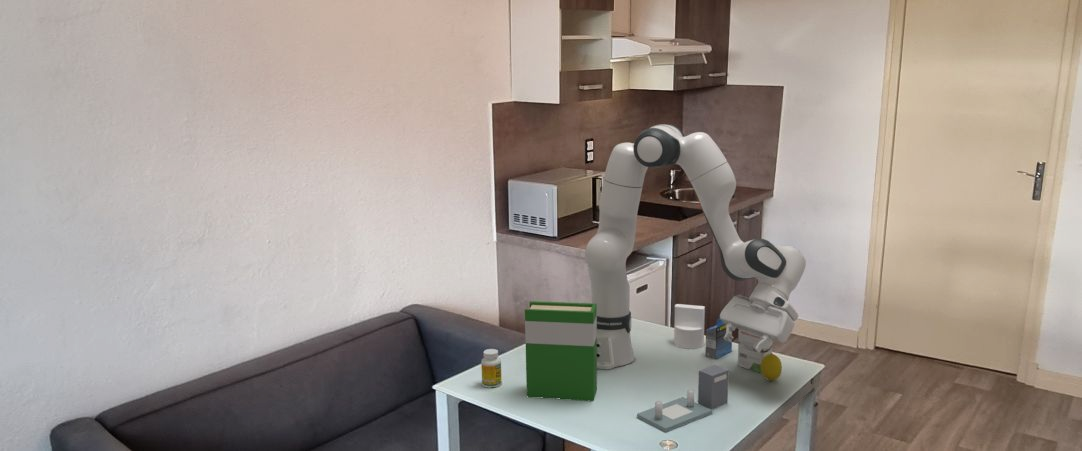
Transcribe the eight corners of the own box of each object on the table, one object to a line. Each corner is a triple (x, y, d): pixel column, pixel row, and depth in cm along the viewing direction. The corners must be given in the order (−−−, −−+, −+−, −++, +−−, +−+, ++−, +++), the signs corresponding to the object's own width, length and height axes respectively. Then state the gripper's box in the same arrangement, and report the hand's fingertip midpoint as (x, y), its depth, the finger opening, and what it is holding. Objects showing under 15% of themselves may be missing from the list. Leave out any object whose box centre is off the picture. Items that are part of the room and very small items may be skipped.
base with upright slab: (671, 347, 243) (672, 309, 240) (677, 337, 251) (677, 300, 248) (701, 350, 240) (702, 312, 237) (705, 340, 248) (706, 303, 245)
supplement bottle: (485, 379, 221) (484, 347, 219) (504, 381, 220) (503, 348, 218) (479, 387, 216) (478, 354, 214) (498, 389, 214) (497, 355, 212)
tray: (665, 432, 188) (666, 412, 187) (636, 417, 196) (637, 398, 195) (712, 413, 198) (712, 395, 196) (682, 400, 205) (683, 382, 204)
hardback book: (526, 397, 209) (524, 309, 204) (532, 385, 216) (530, 301, 211) (593, 401, 206) (593, 312, 201) (596, 389, 213) (596, 303, 208)
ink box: (772, 369, 224) (774, 330, 222) (761, 374, 221) (763, 334, 218) (747, 361, 231) (748, 322, 228) (736, 365, 227) (737, 326, 225)
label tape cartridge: (720, 348, 241) (722, 309, 238) (732, 351, 238) (733, 312, 236) (704, 356, 235) (705, 316, 232) (716, 359, 232) (717, 319, 230)
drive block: (711, 409, 200) (712, 376, 198) (697, 403, 204) (698, 370, 202) (727, 403, 203) (728, 370, 201) (713, 397, 207) (714, 364, 205)
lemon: (777, 387, 213) (779, 358, 211) (757, 382, 215) (758, 355, 214) (783, 379, 217) (784, 352, 215) (763, 375, 220) (764, 348, 218)
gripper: (730, 286, 217) (705, 328, 213) (794, 304, 200) (767, 350, 197) (741, 299, 220) (716, 340, 217) (804, 317, 204) (778, 362, 200)
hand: (741, 345), depth 207 cm, fingers open, 8 cm apart
